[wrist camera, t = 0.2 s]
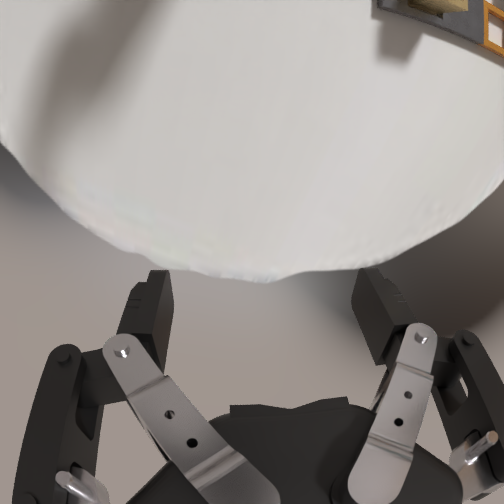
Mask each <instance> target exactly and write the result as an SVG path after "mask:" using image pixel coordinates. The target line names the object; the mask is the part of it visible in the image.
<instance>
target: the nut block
mask: <svg viewBox="0 0 504 504" xmlns="http://www.w3.org/2000/svg"><path fill="white" fill-rule="evenodd" d="M408 6H410V7H413V8H416V9H419V10H422V11H425V12H427V13H430V14H433V15H434V14H442V13H450V12H461V11H468V0H408Z"/></svg>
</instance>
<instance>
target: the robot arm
mask: <svg viewBox="0 0 504 504" xmlns="http://www.w3.org/2000/svg"><path fill="white" fill-rule="evenodd" d="M351 303H352V309H353V311H354V314H355V316H356V318H357V321H358V323H359V325H360V328H361V330H362V333H363V335H364V337H365V340H366V342H367V345H368V347H369V350H370V352H371V355H372V357H373V360H374V362H375V364H376V365H383V364H386V366H387V370H386V371H385V373H384V376H383V378H382V381H381V383H380V385H379V388H378V390H377V393H376V395H375V397H374V399H373V402H372V404H371V406H370V408H369V409H366V408H364V407H360V406H357V405H351V404H349V402H348V398H347V397H338V398H331V399H322V400H318V401H315V402H312V403H309V404H306V405H303V406H300V407H297V408H294V409H286V408H279V407H273V406H266V405H261V404H258V405H230V413H229V414H224V415H221V416H219V417H216V418H214V419H212V420H210V421H209V422H207V420H206V419H205V418H204V417H203V416H202V415H201V414H200V412H199V411H198V410H197V409H196V408H195V406H194V405H193V404H192V403H191V402H190V400H189V399H188V398H187V397H186V396H185V394H184V393H183V392H182V391H181V390H180V388H179V387H178V386H177V385H176V383H175V382H174V381H173V380H172V378H171V377H170V376H168V375H167V376H164V369H165V362H166V356H167V349H168V343H169V337H170V331H171V325H172V319H173V313H174V300H173V293H172V286H171V279H170V273H169V270H151V271H150V273H149V276H148V279H147V282H138V283H137V284H136V286H135V287H134V288H133V289H132V290H131V292H130V295H129V297H128V301H127V303H126V306H125V309H124V312H123V315H122V318H121V321H120V324H119V327H118V330H117V333H116V335H115V336H113V337H111V338H109V339H108V340H107V341H106V342H105V344H104V346H103V348H101V349H98V350H93V351H88V352H83V353H81V351H80V350H79V348H78V347H76V346H75V345H72V344H64V345H60V346H58V347H56V348H55V349H54V350H53V351H52V352H51V353H50V355H49V356H48V359H47V362H46V365H45V368H44V371H43V373H42V376H41V379H40V382H39V386H38V389H37V392H36V395H35V399H34V402H33V405H32V409H31V413H30V416H29V420H28V423H27V427H26V431H25V435H24V439H23V443H22V448H21V452H20V457H19V461H18V467H17V472H16V477H15V483H14V489H13V496H12V504H110V502H109V494H108V491H107V489H106V487H105V486H104V485H103V484H102V483H101V482H100V481H98V480H97V479H96V478H95V471H96V461H97V453H98V444H99V437H100V430H101V423H102V417H103V410H104V405H105V404H110V403H116V402H120V401H126V402H127V404H128V405H129V407H130V409H131V410H132V412H133V413H134V415H135V416H136V418H137V420H138V421H139V423H140V424H141V425H142V427H143V429H144V430H145V431H146V433H147V435H148V436H149V438H150V439H151V440H152V442H153V444H154V445H155V447H156V448H157V450H158V451H159V452H160V454H161V455H162V457H163V458H164V459H165V461H166V462H167V463H166V464H165V465H164V466H163V467H162V469H160V470H159V471H158V472H157V473H156V475H154V476H153V477H152V478H151V479H150V480H149V481H148V483H147V484H146V485H144V486H143V488H141V489H140V490H139V491H138V493H136V494H135V495H134V496H133V497H132V498H131V499H130V500H129V501H128V502H127V503H126V504H462V502H464V501H467V500H469V499H470V500H474V501H476V500H480V499H482V498H484V497H485V496H487V495H489V494H491V493H492V492H494V491H496V490H497V489H499V488H501V487H503V486H504V384H503V382H502V380H501V378H500V376H499V374H498V372H497V371H496V369H495V367H494V365H493V363H492V361H491V359H490V358H489V356H488V354H487V352H486V350H485V349H484V347H483V346H482V343H481V342H480V340H479V338H478V337H477V336H476V335H475V334H474V333H472V332H470V331H467V330H459V331H457V332H456V333H455V335H454V336H453V338H445V337H438V336H437V335H436V333H435V332H434V330H432V329H431V328H430V327H429V326H427V325H425V324H422V323H418V321H417V319H416V317H415V316H414V314H413V312H412V311H411V309H410V307H409V306H408V304H407V302H405V299H404V297H403V296H402V295H401V293H400V291H399V289H398V288H397V286H396V285H395V284H394V283H392V282H391V281H390V280H389V279H384V277H383V275H382V274H381V272H380V271H379V269H378V268H361V269H360V270H359V272H358V275H357V279H356V283H355V286H354V290H353V294H352V300H351ZM461 377H462V378H463V380H464V382H465V384H466V386H467V389H468V397H467V396H466V394H465V391H464V389H463V387H462V385H461V383H460V378H461ZM430 392H431V393H432V395H433V398H434V401H435V403H436V406H437V409H438V412H439V414H440V417H441V419H442V423H443V426H444V428H445V431H446V434H447V437H448V440H449V443H450V446H451V449H452V453H451V455H450V459H449V462H450V464H449V465H447V464H445V463H444V462H442V461H441V460H440V459H438V458H436V457H435V456H434V455H432V454H431V453H430V452H428V451H427V450H425V449H424V448H422V447H421V446H420V445H418V444H417V443H416V439H417V436H418V433H419V430H420V427H421V424H422V420H423V417H424V414H425V410H426V407H427V403H428V399H429V396H430Z"/></svg>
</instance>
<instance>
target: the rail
mask: <svg viewBox="0 0 504 504" xmlns="http://www.w3.org/2000/svg"><path fill="white" fill-rule="evenodd" d="M378 8H380V9H384V10H387V11H391V12H394V13H398V14H401V15H404V16H408V17H411V18H414V19H417V20H420V21H423V22H425V23H428V24H431V25H434V26H436V27H439V28H441V29H444V30H446V31H449V32H451V33H454V34H456V35H458V36H461V37H463V38H465V39H468V40H470V41H472V42H474V43H476V44H478V45H480V46H482V47H484V48H486V49H488V50H490V51H492V52H494V53H496V54H498V55H500V56H502V57H504V49H503V48H502V47H500V46H498V45H496V44H494V43H493V42H491V41H489V40H488V12H489V13H491V14H493V15H494V16H496V17H498V18H499V19H501V20H503V21H504V12H503V11H502V10H500V9H499V8H497V7H495V6H494V5H492V4H490V3H488V2H487V1H485V0H468V11H461V12H450V13H442V14H437V17H436V16H433V15H431V14H428V13H425V12H423V11H420V10H417V9H414V8H411V7H408V0H378Z"/></svg>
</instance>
